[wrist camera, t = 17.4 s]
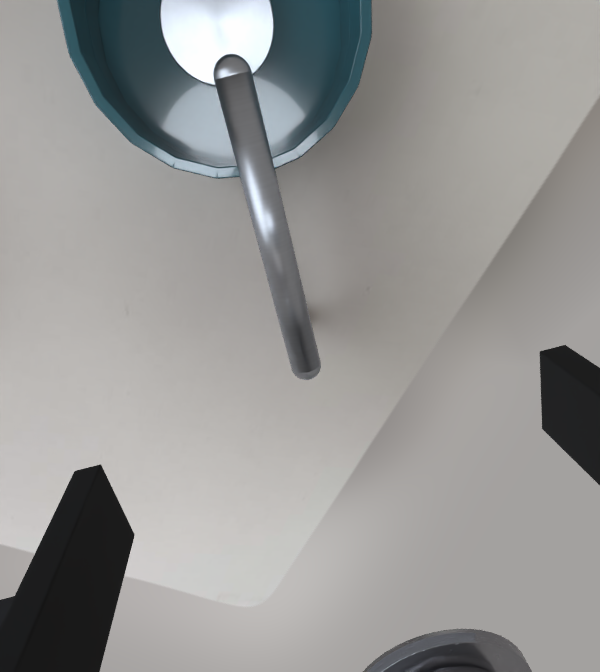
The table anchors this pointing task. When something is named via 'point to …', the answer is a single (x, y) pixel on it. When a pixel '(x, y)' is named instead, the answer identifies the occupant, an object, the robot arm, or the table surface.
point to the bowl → (201, 99)
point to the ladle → (247, 140)
